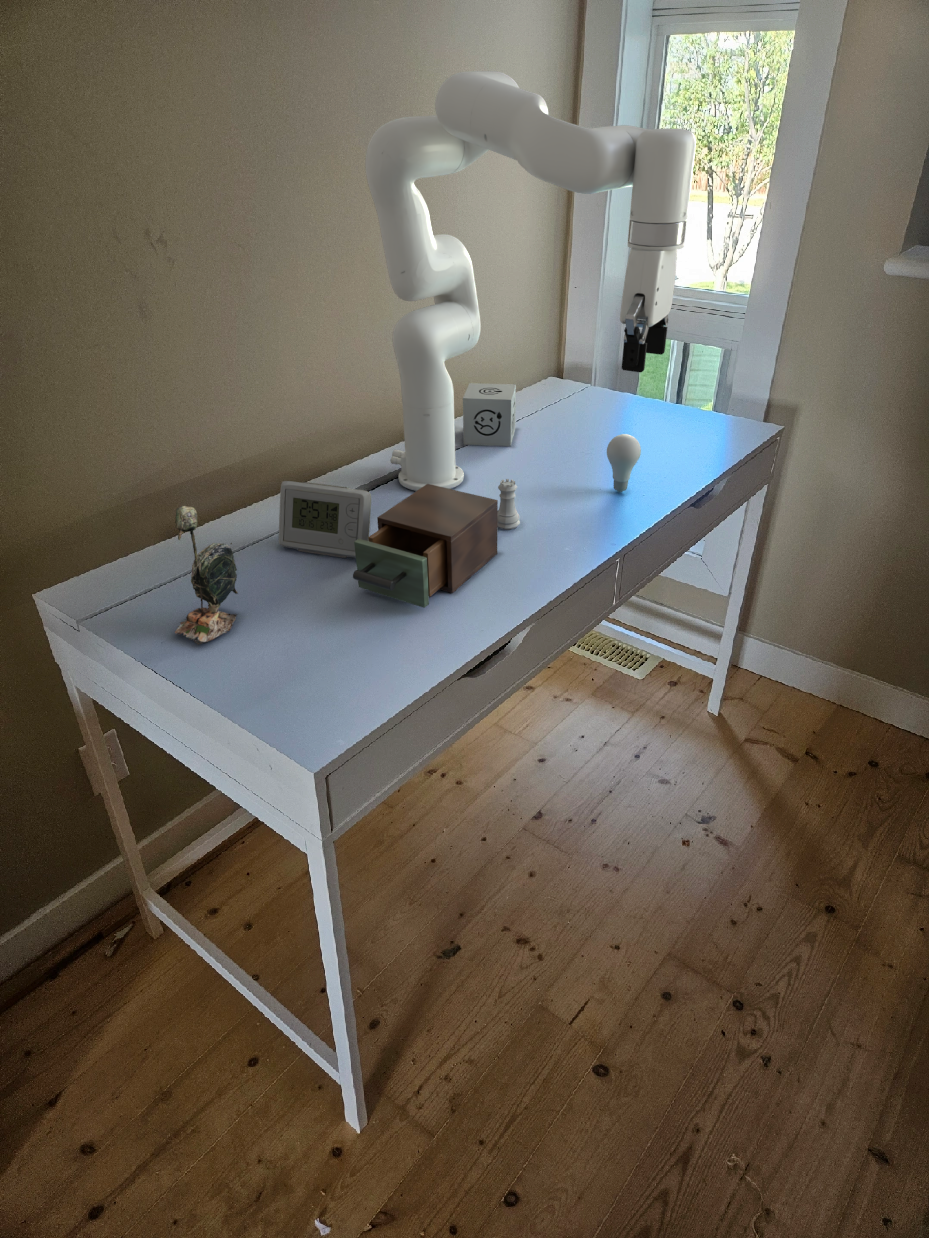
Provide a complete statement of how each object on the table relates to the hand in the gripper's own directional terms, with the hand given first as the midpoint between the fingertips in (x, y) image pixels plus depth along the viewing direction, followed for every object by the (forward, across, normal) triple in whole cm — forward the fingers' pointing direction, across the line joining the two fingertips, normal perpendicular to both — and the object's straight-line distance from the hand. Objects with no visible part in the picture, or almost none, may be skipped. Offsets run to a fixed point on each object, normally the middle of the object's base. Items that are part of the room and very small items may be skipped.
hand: (643, 361), depth 121 cm
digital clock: (+30, +24, -43) cm, 58 cm away
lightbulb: (+30, -18, -7) cm, 36 cm away
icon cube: (+30, -33, -42) cm, 61 cm away
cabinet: (+30, +20, -24) cm, 43 cm away
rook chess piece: (+30, +3, -20) cm, 36 cm away
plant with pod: (+30, +50, -44) cm, 73 cm away
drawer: (+29, +30, -24) cm, 48 cm away
